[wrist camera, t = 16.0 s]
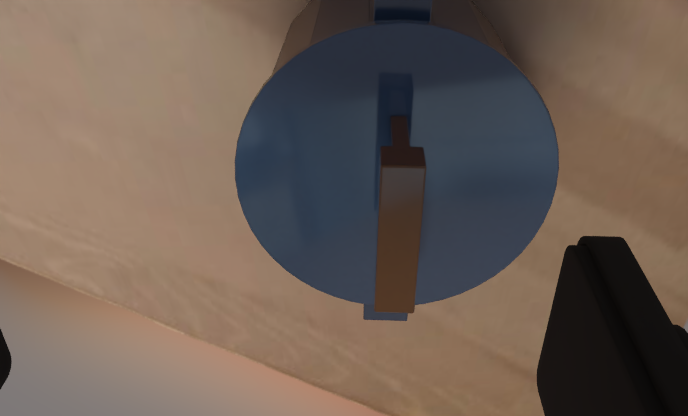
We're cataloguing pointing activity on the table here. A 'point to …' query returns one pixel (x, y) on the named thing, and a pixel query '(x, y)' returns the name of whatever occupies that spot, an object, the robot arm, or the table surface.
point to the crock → (373, 5)
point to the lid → (396, 163)
